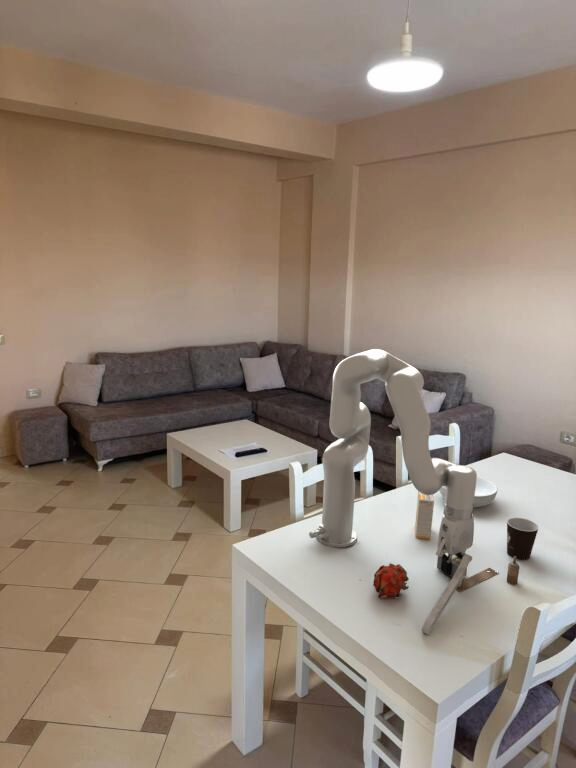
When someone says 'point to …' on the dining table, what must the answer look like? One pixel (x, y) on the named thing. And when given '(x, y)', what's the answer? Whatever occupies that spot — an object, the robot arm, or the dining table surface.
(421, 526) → the supplement box
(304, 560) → the dining table surface
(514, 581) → the awl
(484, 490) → the serving bowl
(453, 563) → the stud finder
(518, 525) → the coffee mug
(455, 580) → the wrench
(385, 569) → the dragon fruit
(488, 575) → the strip
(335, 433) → the robot arm
